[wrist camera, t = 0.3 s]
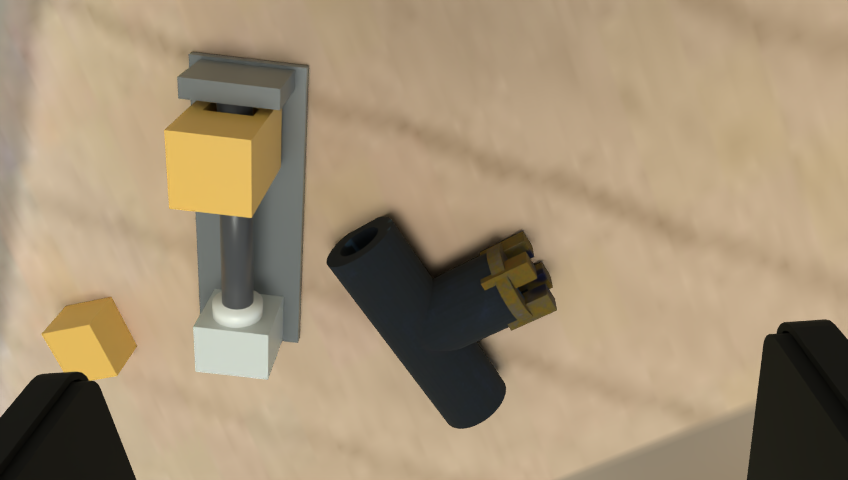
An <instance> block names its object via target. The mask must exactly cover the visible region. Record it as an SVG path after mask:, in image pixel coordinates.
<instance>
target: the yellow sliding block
mask: <svg viewBox="0 0 848 480" xmlns="http://www.w3.org/2000/svg"><path fill="white" fill-rule="evenodd" d="M281 129H282V108H281V110H272V109H264V108H256V107H253V116H248V115H240V114H232V113H223V112H217V104H216V103H213V102H205V101H195V102H194V103H193V104H192V105H191V106H190V107H189V108H188V109H187V110H186V111H184V112H183V113H182V114H181V115H180V116H179V117H178V118H177V119H176V120H175V121H174V122H173V123H171V124H170V125H169V126H168V127H167V128H166V129H165V130H164V134H165V150H166V165H167V181H168V197H169V209H178V210H186V211H195V212H204V213H212V214H221V215H230V216H238V217H247V218H252V217H253V215H254V213H255V211H256V210H257V208H258V206H259V204H260V203H261V201H262V199H263V197H264V196H265V194H266V192H267V190H268V189H269V187H270V185H271V183H272V182H273V180H274V178H275V177H276V175H277V173H278V171H279V170H280V168H281Z"/></svg>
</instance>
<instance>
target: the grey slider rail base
mask: <svg viewBox="0 0 848 480" xmlns="http://www.w3.org/2000/svg"><path fill="white" fill-rule="evenodd" d="M308 76H309V66H307V65H299V64H291V63H282V62H274V61H266V60H257V59H249V58H240V57H232V56H224V55H215V54H207V53H198V52H191V53H190V54H189V68H188V69H187V70H186V71H184V72H183V73H182V74H180V75H179V76H178V77H177V80H178V98H179V99H188V100H191V105H192V104H193V103H194V102H195V101H205V102H213V103H216V104H217V112H223V113H232V114H240V115H248V116H253V107H256V108H264V109H272V110H281V108H282V129H281V168H280V170H279V171H278V173H277V175H276V177H275V178H274V180H273V182H272V183H271V185H270V187H269V189H268V190H267V192H266V194H265V196H264V197H263V199H262V201H261V203H260V204H259V206H258V208H257V210H256V211H255V213H254V215H253V217H252V218H247V217H238V216H230V215H221V214H212V213H204V212H196V231H197V253H198V276H199V299H200V316H199V318H198V319H197V321H196V323H195V325H194V326H193V330H194V350H195V370H196V372H205V373H214V374H223V375H231V376H240V377H249V378H258V379H267V380H268V378H269V375H270V372H271V370H272V367H273V364H274V361H275V359H276V356H277V353H278V351H279V348H280V345H281V342H282V341H287V342H295V343H298V341H299V338H300V310H301V281H302V252H303V222H304V193H305V164H306V135H307V106H308Z"/></svg>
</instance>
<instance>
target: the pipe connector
mask: <svg viewBox="0 0 848 480" xmlns="http://www.w3.org/2000/svg"><path fill="white" fill-rule="evenodd" d="M532 257H534V254H533V248H532V245H531V244H530V242H529V240H528V239H527V237H526V235H525V234H524V232H523V231H522V232H520V233H518V234H516V235H514V236H512V237H510V238H508V239H506V240H504V241H502V242H500V243H498V244H496V245H494V246H492V247H490V248H488V249H486V250H484V251H482V252H480V256H478V257H476V258H474V259H472V260H470V261H468V262H466V263H464V264H462V265H460V266H458V267H456V268H454V269H452V270H450V271H448V272H446V273H444V274H442V275H440V276H438V277H436V278H434V279H432V277H431V276H430V274H429V273H428V271H427V270H426V269H425V267H424V266H423V264H422V263H421V261H420V260H419V259H418V257H417V256H416V254H415V253H414V251H413V250H412V248H411V247H410V246H409V244H408V243H407V241H406V240H405V238H404V237H403V235H402V234H401V233H400V231H399V230H398V228H397V227H396V225H395V224H394V222H393V221H392V220H391V218H389V217H380V218H377V219H375V220H373V221H371V222H369V223H367V224H366V225H364V226H362V227H360V228H358V229H356V230H355V231H353V232H351V233H349V234H348V235H347V236H345V237H344V238H343V239H342V240H341V241H340V242H339V243H338V244H337V245H336V246H335V247H334V248H333V249H332V251H331V252H330V254H329V256H328V258H327V265H328V266H329V268H330V269H331V270H332V272H333V273H334V274H335V275H336V277H337V278H338V279H339V281H340V282H341V283H342V285H343V286H344V287H345V289H346V290H347V291H348V293H349V294H350V295H351V297H352V298H353V299H354V300H355V302H356V303H357V304H358V306H359V307H360V308H361V310H362V311H363V312H364V314H365V315H366V316H367V318H368V319H369V320H370V321H371V323H372V324H373V325H374V327H375V328H376V329H377V331H378V332H379V333H380V335H381V336H382V337H383V339H384V340H385V341H386V343H387V344H388V345H389V346H390V348H391V349H392V350H393V352H394V353H395V354H396V356H397V357H398V358H399V360H400V361H401V362H402V364H403V365H404V366H405V368H406V369H407V370H408V371H409V373H410V374H411V375H412V377H413V378H414V379H415V381H416V382H417V383H418V385H419V386H420V387H421V389H422V390H423V391H424V393H425V394H426V395H427V396H428V398H429V399H430V400H431V402H432V403H433V404H434V406H435V407H436V408H437V410H438V411H439V412H440V414H441V415H442V416H443V418H444V419H445V420H446V421H447V423H448V424H449V425H450V426H452V427H454V428H458V429H464V428H469V427H472V426H475V425H477V424H479V423H481V422H483V421H484V420H486V419H487V418H489V417H490V416H491V415H492V414H493V413H494V412H495V411H496V410H497V409H498V408H499V406H500V405H501V403H502V401H503V399H504V396H505V393H506V386H505V383H504V381H503V380H502V378H501V377H500V375H499V374H498V372H497V371H496V370H495V368H494V367H493V365H492V364H491V362H490V361H489V359H488V358H487V357H486V355H485V354H484V352H483V351H482V349H481V348H480V346H479V345H478V344H477V341H479V340H481V339H483V338H486V337H488V336H490V335H492V334H494V333H497V332H499V331H501V330H503V329H505V328H508V327H509V328H510V329H511V331H512V330H514V329H516V328H518V327H521V326H523V325H525V324H527V323H530V322H532V321H534V320H536V319H538V318H541V317H543V316H545V315H547V314H550V313H552V312H554V311H556V310H557V308H556V302H555V298H554V296H553V295H552V293H551V292H550V290H549V289H550V288H553V286H552V281H551V277H550V275H549V273H548V272H547V270H546V268H545V267H544V265H543V263H542V262H541V263H539V264H536V265H534V264H533V262H532V261H531V259H530V258H532Z"/></svg>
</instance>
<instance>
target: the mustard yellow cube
mask: <svg viewBox="0 0 848 480" xmlns="http://www.w3.org/2000/svg"><path fill="white" fill-rule="evenodd" d="M42 336H43V338H44V339H45V341H46V343H47V344H48V346H49V348H50V349H51V351H52V353H53V355H54V356H55V358H56V360H57V361H58V363H59V365H60V366H61V368H62V370H63V372H82V373H83V374H85V375H86V376H87V378H88V379H89V381H92V380H97V379H103V378H108V377H114V376H118V374H119V372H120V371H121V369H122V368H123V366H124V365H125V363H126V362H127V360H128V359H129V357H130V356H131V354H132V353H133V351H134V350H135V348H136V347H137V345H136V343H135V341H134V339H133V338H132V336H131V334H130V332H129V330H128V328H127V326H126V324H125V322H124V320H123V318H122V316H121V314H120V313H119V311H118V309H117V307H116V305H115V303H114V301H113V299H112V297H108V298H103V299H98V300H93V301H88V302H83V303H78V304H73V305H68V306H66V307H65V308H64V309H63V310H62V311H61V312H60V313H59V315H58V316H57V317H56V318H55V319H54V320H53V321H52V323H51V324H50V325H49V326H48V327H47V328H46V329H45V331H44V332H43V333H42Z"/></svg>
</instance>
